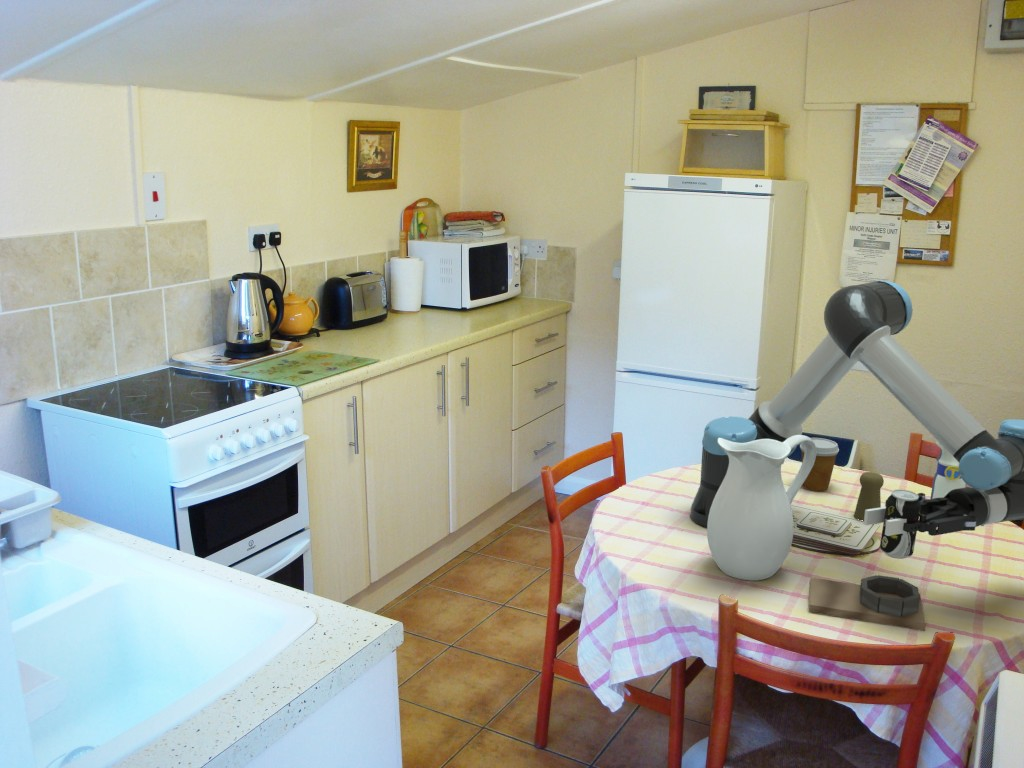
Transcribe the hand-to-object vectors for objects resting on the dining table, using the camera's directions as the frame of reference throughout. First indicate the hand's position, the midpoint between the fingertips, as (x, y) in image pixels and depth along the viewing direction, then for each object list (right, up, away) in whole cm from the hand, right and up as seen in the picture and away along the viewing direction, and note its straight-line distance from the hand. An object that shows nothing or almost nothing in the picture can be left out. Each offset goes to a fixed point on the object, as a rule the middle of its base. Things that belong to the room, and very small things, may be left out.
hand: (876, 522), depth 165 cm
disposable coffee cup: (+12, -2, +70) cm, 71 cm away
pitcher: (-15, -13, +24) cm, 31 cm away
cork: (+18, -7, +50) cm, 54 cm away
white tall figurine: (+38, -6, +53) cm, 65 cm away
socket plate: (+1, -17, +8) cm, 19 cm away
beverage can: (+5, -6, +4) cm, 9 cm away
